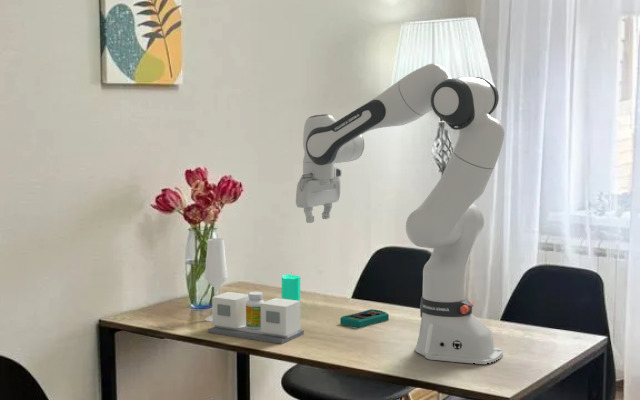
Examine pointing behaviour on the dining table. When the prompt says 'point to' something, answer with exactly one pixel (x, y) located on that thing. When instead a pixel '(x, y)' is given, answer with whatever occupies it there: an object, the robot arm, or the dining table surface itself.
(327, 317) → the dining table surface
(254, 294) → the supplement bottle
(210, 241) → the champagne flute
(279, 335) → the board
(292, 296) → the candle
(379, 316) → the digital multimeter
